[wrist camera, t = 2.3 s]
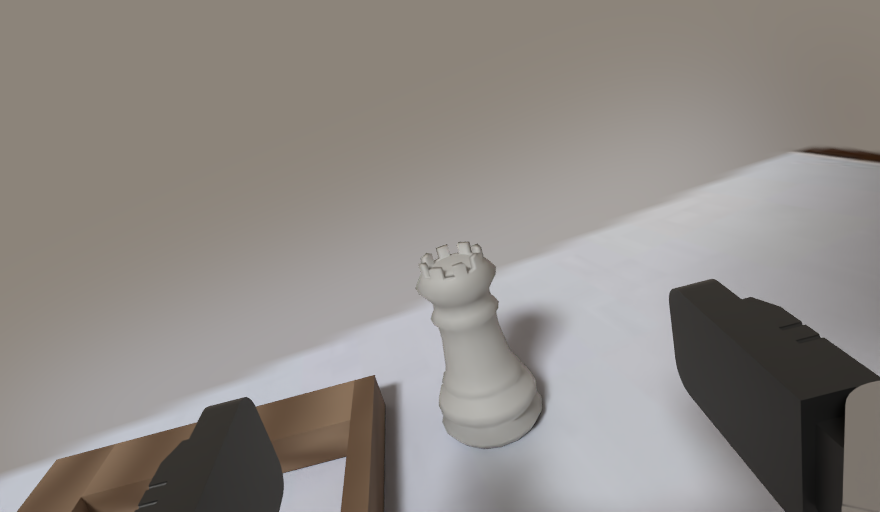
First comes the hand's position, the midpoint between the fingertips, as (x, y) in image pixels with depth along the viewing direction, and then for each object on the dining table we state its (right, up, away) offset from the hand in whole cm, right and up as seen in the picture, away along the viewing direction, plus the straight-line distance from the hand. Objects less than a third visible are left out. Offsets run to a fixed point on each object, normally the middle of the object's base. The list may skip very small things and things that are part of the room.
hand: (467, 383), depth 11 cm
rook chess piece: (+2, -5, +15) cm, 16 cm away
